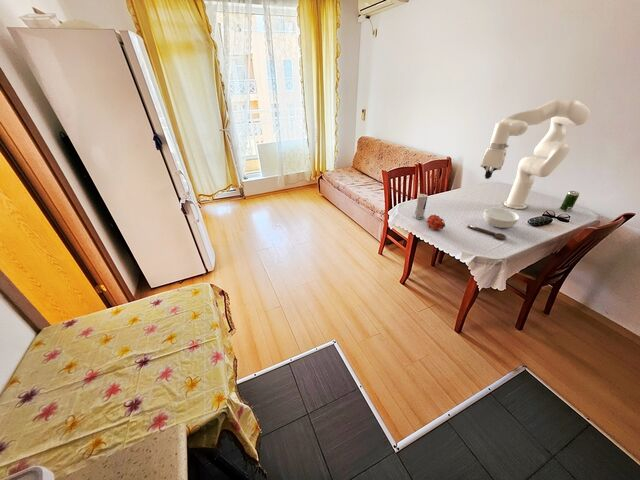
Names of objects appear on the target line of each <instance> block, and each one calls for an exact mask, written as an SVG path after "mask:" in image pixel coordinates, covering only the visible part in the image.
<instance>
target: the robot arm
mask: <svg viewBox="0 0 640 480" xmlns="http://www.w3.org/2000/svg"><path fill="white" fill-rule="evenodd" d="M590 118H591V110H590V108H589V107H588V106H586V105H585V104H583V102H581V101H580V100H577V99H574V98H573V99H572V98H555V99H553V100H550V101H548V102H546V103H544V104H542V105H540V106H538V107H536V108H534V109H529V110H525V111H521V112H516V113H514V114H511V115H509V116H507V117H505V118H503V119H502V120H500V121H498V122H497V123H495V126H494V130H493V134H492V136H491V140H490V143H489V146H488V147H487V148H486V150H485V152H484V155H483V157H482V160H481V164H480V168H482V169H484V171H485V173H484V179H486V180H489V179H490V178H492V176H493V173H494V172H495V171H501V170H502V169H503V166H504V163H505V159H506V155H507V149H508V148H509V147H510V145H509V144H508V141H509V138H510V136H511V137H520V136H522V135H524V134H526V132H527V130H528V128H529V126H536V125H540V124H542V123H544V122H547V121H548V120H550V127H549V130H548V132H547V133H546V135H545V136H544V137H543V138H541V141H540V142H539V143H538V144H537V145H536V147H534V150H533V155H534V156H525V157H523V158H522V159H521V160H520V161H519V163H518V166H517V172H516V176H515V178H514V182H513V184H512V187H511V190H510V192H509V194H508V198H507V200H504V201H503V205H504V206H505V207H507V208H510V209H515V210H523V209H526V208H527V206H528V204H526V201H527V199H528V197H529V195H530V192H531V189H532V187H533V185H534V182H535V177H539V178H546V177H548V176H549V175H551V174H552V173H553V172H554V171H555V170H556V169H557V167H559V165H560V164H561V163H562V162H563V161H564V160H565V159H566V158H567V156H568V154H569V152H570V146H569V144H567V143H565V142H562V141H563V140H564V139H565V137H566V135H567V127H566V125H568V126H577V127H578V126H582V125H584V124H585V123H586V122H588V120H589V119H590ZM535 156H536V157H535Z"/></svg>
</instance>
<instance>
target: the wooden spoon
mask: <svg viewBox="0 0 640 480" xmlns="http://www.w3.org/2000/svg"><path fill="white" fill-rule="evenodd" d="M467 228H469V229H472V230H475V231H478V232H480V233H483V234H484V233H485V234H487V235H490V236H493V237H494V238H495V239H497V240H499V241H505V240H507V239H506V238H507V235H505V234H503V233H500V232H498V233H497V232H495V231H491V230H487V229H485V228H481V227H479V226H475V225H472V224H468V225H467Z"/></svg>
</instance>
